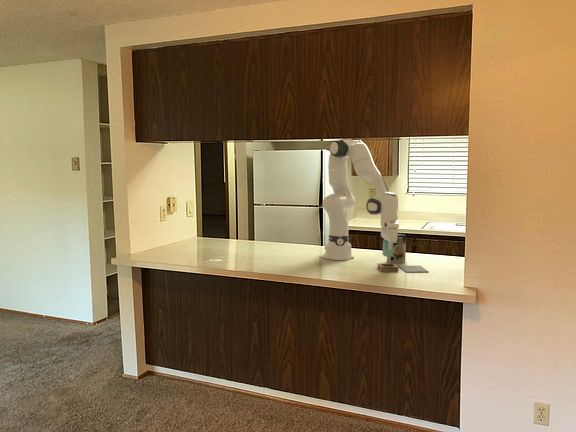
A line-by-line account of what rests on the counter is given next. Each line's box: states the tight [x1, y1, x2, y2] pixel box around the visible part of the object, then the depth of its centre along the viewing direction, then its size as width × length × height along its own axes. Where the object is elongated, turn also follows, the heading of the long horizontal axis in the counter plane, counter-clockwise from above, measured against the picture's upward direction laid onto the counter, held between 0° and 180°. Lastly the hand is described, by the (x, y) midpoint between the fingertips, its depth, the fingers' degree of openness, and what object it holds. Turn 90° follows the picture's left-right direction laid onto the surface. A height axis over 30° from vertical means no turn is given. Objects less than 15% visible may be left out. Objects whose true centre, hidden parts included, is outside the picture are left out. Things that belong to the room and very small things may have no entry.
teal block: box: [382, 239, 393, 257], centre depth 263 cm, size 4×4×8 cm
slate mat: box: [398, 265, 429, 274], centre depth 265 cm, size 14×12×1 cm
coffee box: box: [386, 233, 407, 264], centre depth 284 cm, size 9×6×16 cm
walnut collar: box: [377, 262, 399, 273], centre depth 264 cm, size 9×9×2 cm
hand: (387, 248), depth 263 cm, fingers closed on teal block, 4 cm apart
